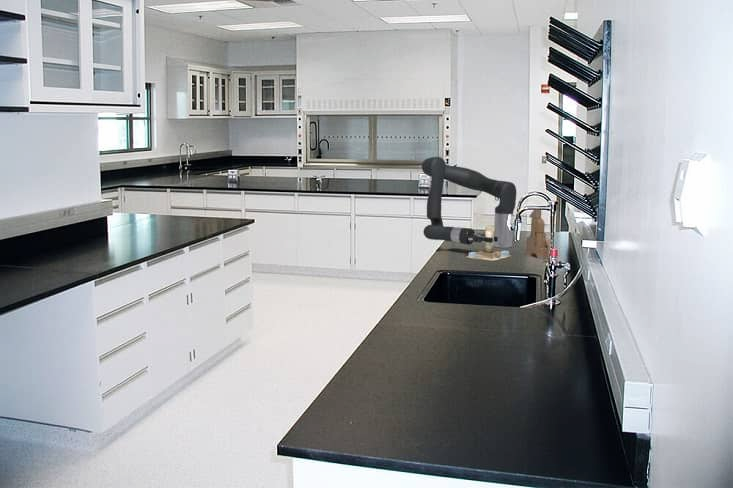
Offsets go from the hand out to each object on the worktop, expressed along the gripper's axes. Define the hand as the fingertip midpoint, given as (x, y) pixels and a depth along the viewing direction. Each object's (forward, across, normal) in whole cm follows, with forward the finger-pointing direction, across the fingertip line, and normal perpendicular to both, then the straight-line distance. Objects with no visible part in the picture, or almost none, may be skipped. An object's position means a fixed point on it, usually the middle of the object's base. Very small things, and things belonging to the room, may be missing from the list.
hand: (494, 239), depth 322 cm
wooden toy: (+13, +18, +10) cm, 24 cm away
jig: (-4, +2, +10) cm, 10 cm away
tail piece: (-8, -4, +8) cm, 13 cm away
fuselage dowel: (-3, 0, +7) cm, 8 cm away
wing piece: (+1, +8, +8) cm, 11 cm away
